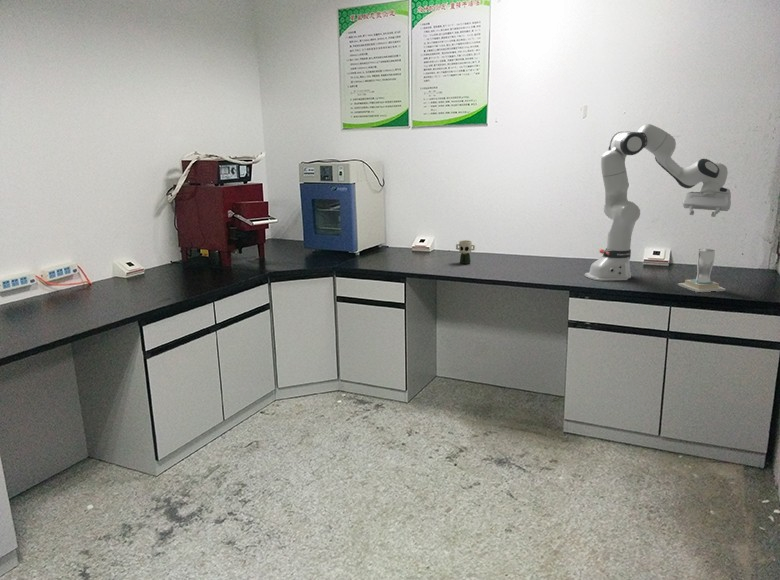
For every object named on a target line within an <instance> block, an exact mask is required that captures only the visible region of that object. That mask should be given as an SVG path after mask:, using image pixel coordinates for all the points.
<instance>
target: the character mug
mask: <svg viewBox="0 0 780 580" xmlns="http://www.w3.org/2000/svg"><path fill="white" fill-rule="evenodd" d="M472 242H473V241H472V240H467V239H466V240H460V241H459V242H458V243H456V244H455V248H456V250H458V251H459V253H461V254H460V258H459V264H465V265H468V264H470V263H471V254H470V253H471V252H472V251H475V249H476V248H475V247H476V246H475V245H476V244H472Z"/></svg>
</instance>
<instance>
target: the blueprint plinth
mask: <svg viewBox="0 0 780 580" xmlns="http://www.w3.org/2000/svg"><path fill="white" fill-rule="evenodd" d="M695 280H696V278H693V279H685V280H684V282H679V283H677V286H679V287H682V288H685V289H686V288H687V289H686V290H689V291H692V292H694V291H695V293H697V292H701V293H712V292H711V291H716V292H725V291H726V288H724V287H722V286H720V283H718V282H715V281H712V280H710V283H699V282H696V281H695Z"/></svg>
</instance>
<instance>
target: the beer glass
mask: <svg viewBox="0 0 780 580" xmlns="http://www.w3.org/2000/svg"><path fill="white" fill-rule="evenodd" d="M715 253H716V251H715V249H712V248H699V249H698V251H697V256H696V269H697V271H696V273H697V274H696V278H695V279H696V280H695V281H696V282H699V283H710V281H711V273H712V269H713V266H714V263H715V256H716V255H715Z"/></svg>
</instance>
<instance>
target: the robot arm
mask: <svg viewBox="0 0 780 580" xmlns="http://www.w3.org/2000/svg"><path fill="white" fill-rule="evenodd" d="M676 146H677V143H676V138H674V136H673V135H671V134H670V133H668V132H667V131H665V130H663V128H661V127H659V126H657V125H653V124H651V123H646V124H644V125H642V126H640V127H639V129H638V130H637V131H630V130H629V131H628V130H626V131H619V132H617V133H615V134H614V135H613V136H612V137H611V140H610V142H609V146H608V150H607V151H605V152H604V153H603V154H602V155H601V157H600V159H601V160H600V168H601V175H602V180H603V186H604V191H605V192H604V194H605V199H604V200H605V201H604V202H605V204H604V206H603V212H604V214H605V216H606V217H607V218H609V220H612V225H611V227H610V229H609V231H608V233H607V240H606V248H605V250H604V249H602V248H600V249H599V254H602V256H601V257H600V258H598V259H597V260H595V261H593V262H592V263H591V265H590V267H589V272H585V273H584V276H585V277H586V278H588V279H590V280H593V281H628V280H629V279H631V278H632V273H631V267H630V260H631V254H632V252H631V251H632V249H631V243H632V235H633V230H634V228H635V225H636V222H637V221H638V220H639V219H640V216H641V209H640V208H639V207H640V206H638V205H637V204H636V203H634V202H633V201H630V200H628V190H629V188H630V187H629V186H630V185H629V184H630V183H629V178H628V173H627V168H626V158H627V156H634V155H637V154H639V153H640V152H641V151H642V150H643V149H645V150H647V151H648V152H649V153H651V154H653V156H654V159H655V161H656V163H657V164H658V165H659V166H660V167H661V168H662V170H665V172H667V173H668V174H669V175H670V176H671V177H672V178H673V179H674V180H675V181H676V182H677V184H678V185H679V186H680V187H682V188H684V189H692V188H693V187H695V186H696V185H698V184H699V183H702V186H701V189H700V191H690V192H687V193H686V194H685V196H684V199H683V201H682V207H683V208H684V209H688V210H689V215H690V216H694V214H695V210H707V211H712V212H711V214H710V215H711V217H712V218H715V217H716V216H717V214H719V213H721V212H728V211H730V209H731V204H732V202H731V201H732V199H731V198H732V193H731V190H730V189H729V188H726V187H724V186H725V184H726V181H727V179H728V178H727V177H728V174H729V173H728V168H727V165H725V164H723V163H721V162H716V163H715V162H713V161H711V160H710V159H707V158H700V159H699V160H697V161H695V162H693V163H692V164H690V165H689V166H686V167H682V166H681V165H679V163H677V162H676V161H675V160H674V159H673V158H672V155H673V154H674V152H675V150H676Z"/></svg>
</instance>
